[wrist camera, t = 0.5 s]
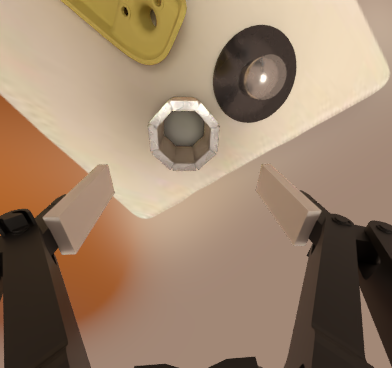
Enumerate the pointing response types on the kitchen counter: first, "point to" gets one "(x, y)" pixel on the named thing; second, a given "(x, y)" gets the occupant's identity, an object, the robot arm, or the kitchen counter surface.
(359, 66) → the kitchen counter surface
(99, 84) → the kitchen counter surface
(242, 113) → the duct stub
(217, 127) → the collar
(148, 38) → the plastic component
